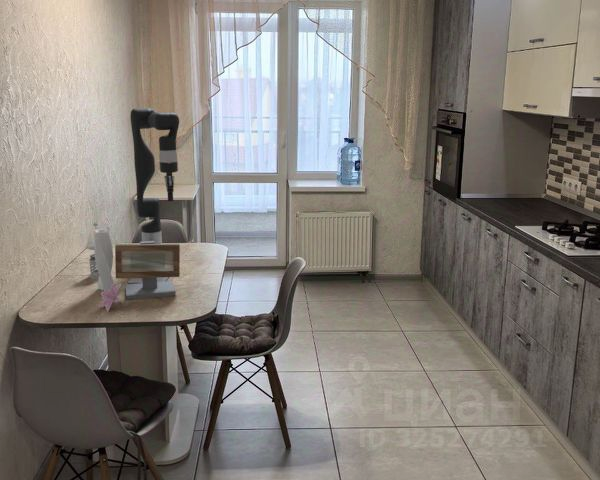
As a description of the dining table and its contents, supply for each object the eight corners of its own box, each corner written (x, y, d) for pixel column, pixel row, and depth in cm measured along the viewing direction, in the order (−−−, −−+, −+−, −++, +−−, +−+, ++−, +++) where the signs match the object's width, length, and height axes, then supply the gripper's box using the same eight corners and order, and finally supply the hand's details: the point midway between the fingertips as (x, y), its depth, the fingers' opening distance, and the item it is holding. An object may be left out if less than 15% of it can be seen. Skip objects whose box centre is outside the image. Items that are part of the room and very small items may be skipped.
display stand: (126, 288, 278) (122, 239, 273) (172, 284, 283) (170, 236, 278) (126, 299, 263) (122, 248, 258) (175, 295, 268) (172, 245, 263)
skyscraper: (119, 288, 277) (115, 225, 271) (106, 292, 271) (101, 228, 265) (107, 285, 282) (102, 223, 275) (93, 289, 276) (88, 226, 269)
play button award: (173, 270, 301) (163, 282, 282) (173, 273, 302) (163, 286, 282) (138, 270, 301) (127, 282, 282) (139, 273, 302) (127, 286, 282)
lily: (103, 304, 259) (92, 288, 254) (130, 292, 261) (119, 275, 255) (106, 322, 250) (94, 306, 244) (134, 309, 251) (123, 292, 246)
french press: (86, 274, 298) (82, 222, 292) (112, 271, 303) (108, 219, 298) (90, 279, 290) (85, 225, 284) (116, 276, 295) (112, 223, 289)
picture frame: (115, 277, 266) (115, 244, 263) (179, 275, 273) (179, 243, 270) (115, 278, 264) (115, 245, 261) (179, 276, 271) (179, 244, 268)
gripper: (158, 159, 277) (160, 198, 281) (160, 162, 265) (162, 204, 269) (176, 158, 279) (178, 198, 283) (178, 162, 267) (180, 203, 271)
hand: (170, 200), depth 276 cm, fingers closed
